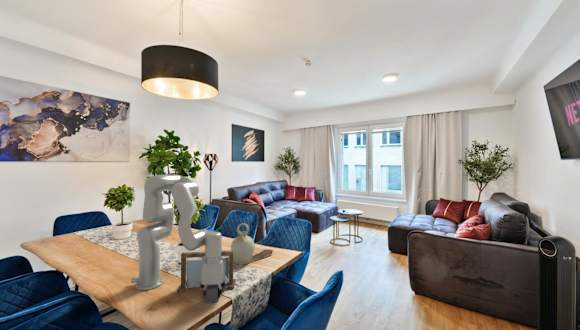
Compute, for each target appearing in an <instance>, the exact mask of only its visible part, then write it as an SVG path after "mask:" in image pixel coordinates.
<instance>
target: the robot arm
mask: <svg viewBox="0 0 580 330" xmlns="http://www.w3.org/2000/svg"><path fill="white" fill-rule="evenodd" d="M143 185H144V187H143V191H144V200H143V209H142V220H143V222H144V223H146V224H147V225H144V226H142V227H141V228H139V229H138V230H137V233H136V240H137V245H138V276H132V277H131V278H130V283H131V284H132V283H133V284H134V283H136V284H135V285H134V288H135V290H137V291H141V292H142V291H149V290H153V289H155V288H158V287H159V286H161V285H162V284H163V283H164V278H163V277H160V276H161V249H160V247H159V245H158V244H157V242H158V241H161V240H163V239H166V238H168V237H170V235H171V233H172V231H173V226H174V224H173V223H174V217H175V209H174V206H173V205H172V204H171V203H169V202H164V196H163V195H164V194H162V193H163V192H165V191H167V192H168V191H170V194H171V195H172V199H173V201H174V203H175V206H176V208H177V211H178V212H179V220H178V226H177V234H178V237H179V239H180V241H181V243H182V246H183V247H184V249H185V250H187V251H188V252H189V251H190V252H192V251H193V252H194V251H195V250H197V249H199V248H201V247H204V252H205V256H204V257H201V259H202V260H205V261H204V262H203V266H202V274H201V277H200V279H199V280H198V281H197V284H198V285H200V286H201V288H202V290H203V293H204V294H203V296H204V298H205V299H204V300H206V289H207V286H208V285H216V284H218V287H219V288H218V299H220V296H221V295H222V293H223V288H224V286H225V285H227V284H226V283H227V282H229V279H228V278H227V276H226V275H225V274H224V264H223V260H221V257H222V256H221V254H222V251H223V250H222V247H223V246H222V243H223V240H222V239H223V238H222V235H223V234H222V233H221V232H219V231H212V230H209V229H206V228H205V229H200V230H197V231H195V232H193V230H192V227H191V220H192V218H193V216H194V215H195V214H196V213H197V212H198V205H197V203H196V201H195V199H194V197H196V196H198V194H199V192H200V188H199V186H198V184H197V183H196V182H195V181H193V180H191V179H189V178H188V177H185V176H183V175H182V174H181V175H180V174H176V173H175V174H170V173H169V174H156V175H151V176H149V177H148V178H147V179H146V180H145V182H144V184H143ZM224 280H225V281H224ZM223 281H224V282H223Z"/></svg>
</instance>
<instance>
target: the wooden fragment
mask: <svg viewBox="0 0 580 330" xmlns="http://www.w3.org/2000/svg"><path fill="white" fill-rule="evenodd" d="M273 251H274V249H263V250H262V251H260V252H259V253H254V254H253V258H252V261H251V262H250V263H251V264H252V263H254V262H258V261H259V260H262V259H264V258H267V257H271V256H272V253H273Z"/></svg>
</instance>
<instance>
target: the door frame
mask: <svg viewBox="0 0 580 330" xmlns="http://www.w3.org/2000/svg"><path fill="white" fill-rule="evenodd" d="M204 256H205V251H193V252H192V251H190V252H189V251H188V252H182V253H180V284H179V286H178V288H177V289H176V293H185V290H186V289H187V259H190V258H191V259H192V258H202V257H204ZM221 257H229V284H228V288H227V289H228V290H234V289H235V288H236V287H235V286H236V281H237V279H236V278H234V261H233V250H232V251H231V250H222V254H221Z"/></svg>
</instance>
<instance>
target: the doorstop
mask: <svg viewBox="0 0 580 330" xmlns="http://www.w3.org/2000/svg"><path fill="white" fill-rule="evenodd" d="M218 288H219V287H218V284H216V285H208V286H207V289H206V299H205V303H218V301H219V298H218Z"/></svg>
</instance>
